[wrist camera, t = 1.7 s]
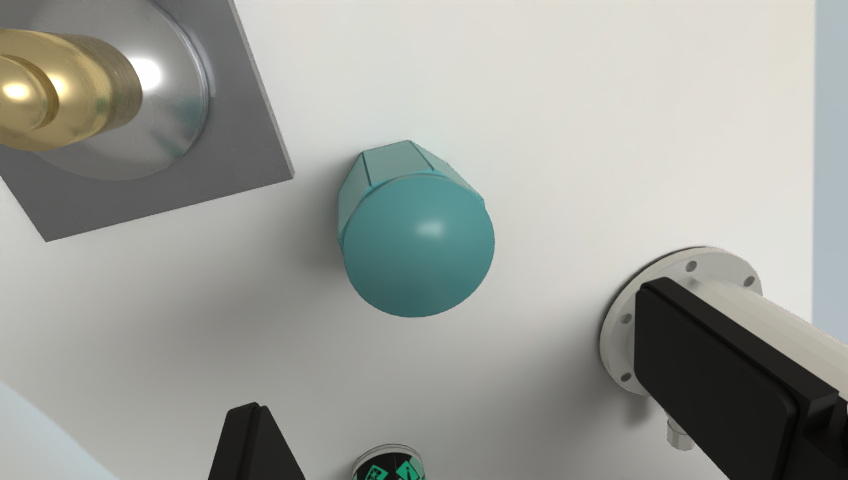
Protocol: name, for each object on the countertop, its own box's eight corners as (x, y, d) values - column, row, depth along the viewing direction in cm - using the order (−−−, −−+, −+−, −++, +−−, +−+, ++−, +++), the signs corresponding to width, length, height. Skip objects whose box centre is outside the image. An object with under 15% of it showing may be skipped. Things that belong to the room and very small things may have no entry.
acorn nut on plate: (294, 172, 22) (275, 227, 15) (60, 232, 21) (-78, 320, 14) (194, -108, 17) (92, -225, 10) (-123, -47, 16) (-484, -127, 9)
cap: (462, 235, 25) (503, 294, 19) (360, 263, 25) (367, 334, 19) (442, 131, 23) (483, 160, 16) (327, 160, 22) (323, 202, 16)
